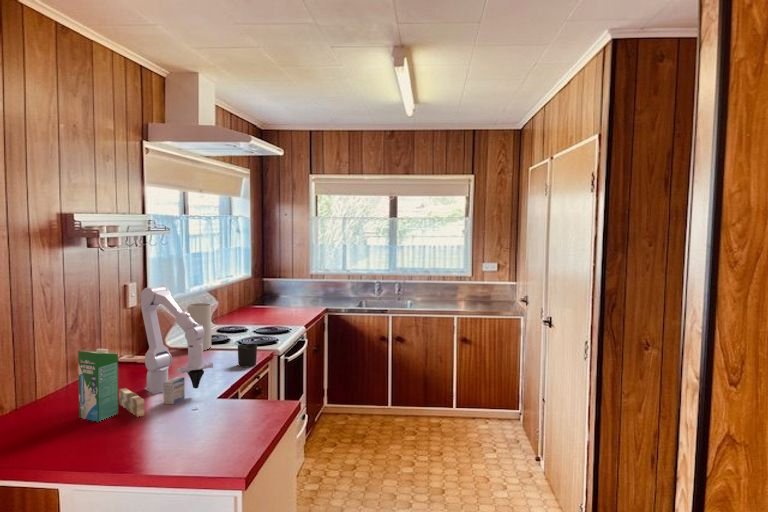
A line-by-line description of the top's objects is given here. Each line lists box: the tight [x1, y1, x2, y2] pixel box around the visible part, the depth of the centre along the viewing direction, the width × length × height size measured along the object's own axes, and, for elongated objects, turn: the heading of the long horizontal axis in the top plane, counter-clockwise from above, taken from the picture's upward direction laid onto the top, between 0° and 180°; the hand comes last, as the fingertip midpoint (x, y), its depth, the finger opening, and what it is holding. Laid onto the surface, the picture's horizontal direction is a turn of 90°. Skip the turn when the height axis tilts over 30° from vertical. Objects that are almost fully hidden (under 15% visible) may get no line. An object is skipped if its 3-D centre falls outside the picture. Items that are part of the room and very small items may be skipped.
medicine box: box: [162, 376, 186, 405], centre depth 208 cm, size 8×4×9 cm, turn 168°
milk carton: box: [77, 348, 119, 423], centre depth 189 cm, size 9×9×25 cm
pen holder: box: [237, 343, 258, 367], centre depth 262 cm, size 9×9×10 cm
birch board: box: [118, 387, 145, 418], centre depth 197 cm, size 18×2×6 cm, turn 46°
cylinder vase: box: [187, 302, 212, 352], centre depth 292 cm, size 12×12×25 cm
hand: (195, 387), depth 214 cm, fingers closed
